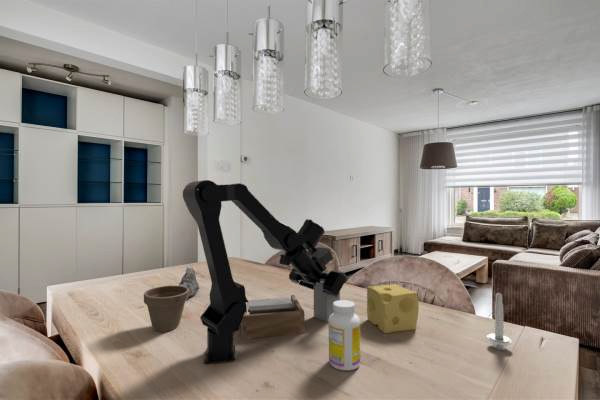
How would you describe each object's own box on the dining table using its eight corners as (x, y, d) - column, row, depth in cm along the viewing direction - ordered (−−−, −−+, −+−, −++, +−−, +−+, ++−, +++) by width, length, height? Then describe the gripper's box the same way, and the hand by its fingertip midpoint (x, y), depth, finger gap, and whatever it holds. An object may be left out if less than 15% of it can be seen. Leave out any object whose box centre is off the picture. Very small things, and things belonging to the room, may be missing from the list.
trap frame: (304, 332, 81) (304, 311, 81) (242, 338, 78) (242, 316, 78) (293, 313, 95) (293, 294, 95) (241, 317, 92) (241, 298, 92)
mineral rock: (185, 302, 106) (185, 273, 106) (160, 298, 109) (160, 270, 109) (209, 291, 118) (209, 265, 118) (186, 288, 121) (186, 263, 121)
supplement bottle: (356, 355, 69) (356, 298, 69) (363, 371, 63) (363, 308, 63) (326, 356, 69) (326, 298, 69) (330, 372, 63) (330, 309, 63)
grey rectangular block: (327, 321, 88) (327, 283, 88) (313, 316, 92) (313, 279, 92) (339, 317, 92) (339, 280, 92) (326, 312, 96) (326, 276, 96)
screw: (514, 348, 72) (506, 354, 70) (492, 341, 76) (483, 346, 73) (514, 293, 72) (506, 297, 69) (492, 288, 76) (483, 291, 73)
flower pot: (198, 324, 87) (198, 288, 87) (161, 340, 77) (161, 299, 77) (171, 316, 93) (171, 282, 93) (134, 330, 83) (134, 292, 83)
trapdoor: (296, 317, 83) (296, 307, 83) (248, 321, 80) (248, 310, 80) (289, 303, 94) (289, 294, 94) (246, 306, 91) (246, 297, 91)
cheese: (384, 334, 80) (384, 296, 80) (365, 319, 91) (365, 284, 91) (419, 330, 83) (419, 292, 83) (396, 315, 93) (396, 282, 93)
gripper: (342, 242, 83) (367, 277, 90) (296, 236, 97) (320, 266, 104) (321, 277, 77) (349, 310, 85) (276, 265, 91) (303, 295, 99)
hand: (329, 293), depth 93 cm, fingers open, 6 cm apart
